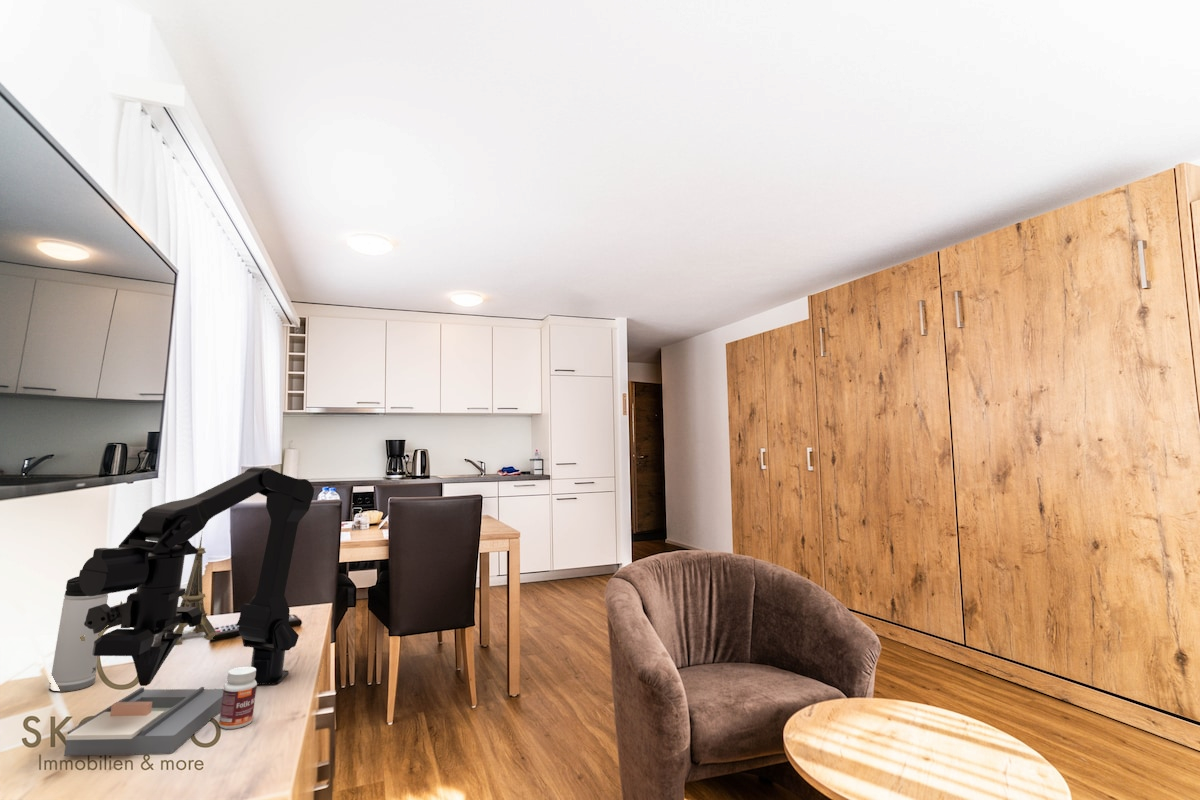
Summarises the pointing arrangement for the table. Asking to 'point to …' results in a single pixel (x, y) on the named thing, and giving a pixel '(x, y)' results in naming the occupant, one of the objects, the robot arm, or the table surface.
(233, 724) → the pill bottle
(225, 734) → the table surface
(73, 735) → the cover
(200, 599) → the eiffel tower
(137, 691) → the board
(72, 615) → the travel mug
